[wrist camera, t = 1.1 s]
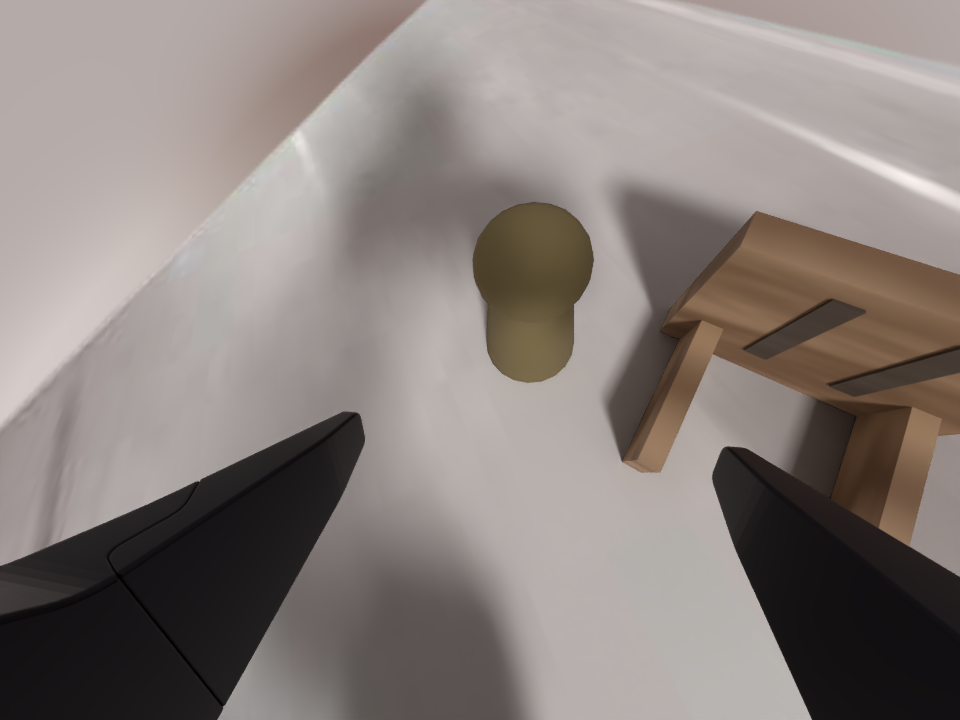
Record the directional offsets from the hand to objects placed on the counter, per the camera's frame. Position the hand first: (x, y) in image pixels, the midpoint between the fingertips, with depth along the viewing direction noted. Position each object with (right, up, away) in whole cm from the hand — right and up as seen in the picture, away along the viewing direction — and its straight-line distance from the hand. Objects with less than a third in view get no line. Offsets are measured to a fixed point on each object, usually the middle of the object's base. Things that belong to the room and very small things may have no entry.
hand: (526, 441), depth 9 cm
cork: (+2, +3, +15) cm, 16 cm away
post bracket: (+15, -3, +11) cm, 19 cm away
